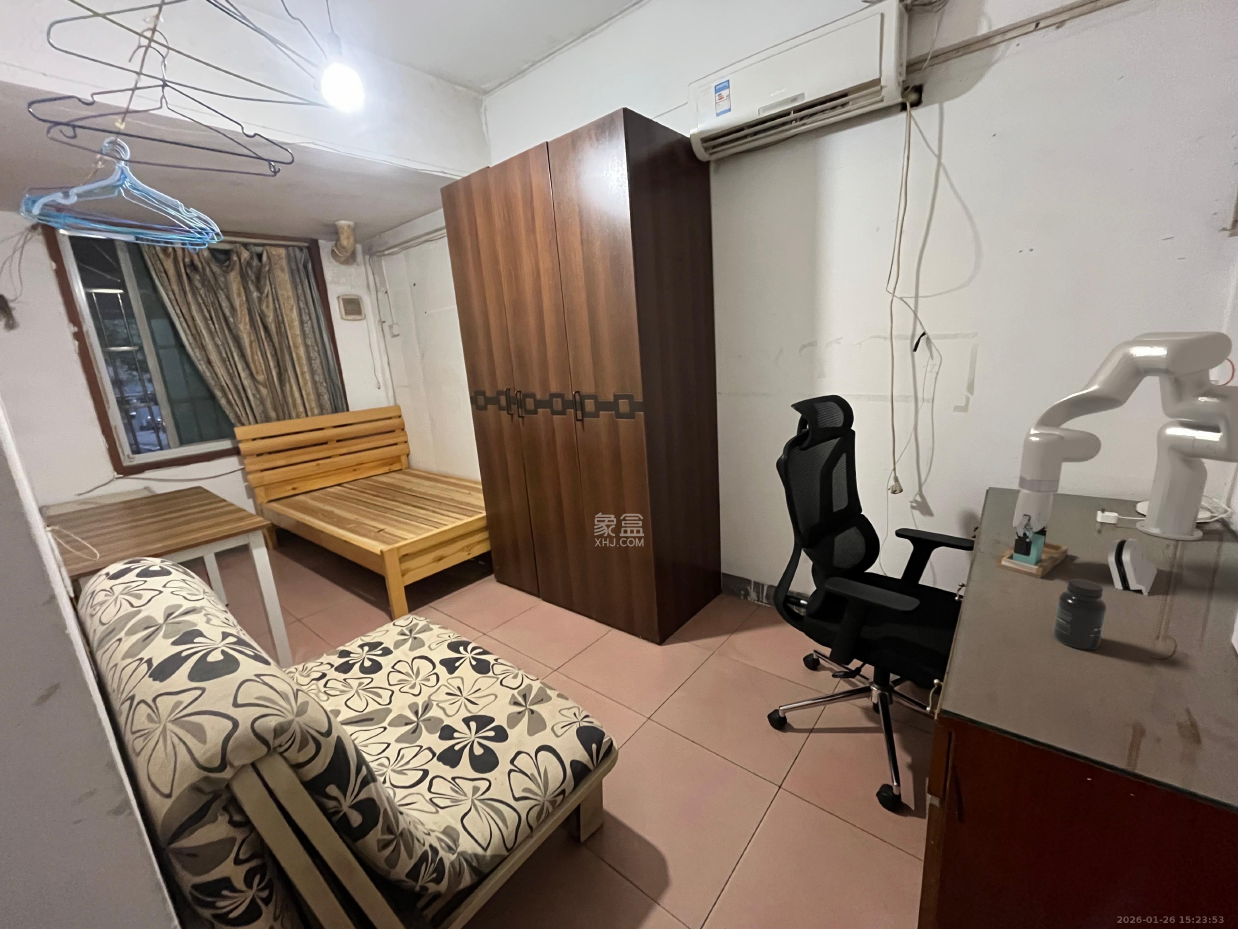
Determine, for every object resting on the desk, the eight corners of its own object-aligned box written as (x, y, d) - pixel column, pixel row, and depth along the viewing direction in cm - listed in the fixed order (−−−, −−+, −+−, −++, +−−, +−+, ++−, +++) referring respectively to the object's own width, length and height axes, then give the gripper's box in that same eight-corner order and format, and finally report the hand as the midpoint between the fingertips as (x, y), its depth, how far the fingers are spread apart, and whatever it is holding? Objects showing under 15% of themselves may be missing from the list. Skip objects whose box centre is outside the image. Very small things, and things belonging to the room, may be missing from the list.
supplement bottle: (1103, 655, 92) (1115, 596, 90) (1055, 645, 96) (1065, 588, 93) (1094, 635, 98) (1105, 580, 95) (1049, 627, 102) (1058, 573, 99)
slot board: (1024, 545, 138) (1025, 537, 137) (1066, 555, 130) (1068, 547, 130) (996, 566, 127) (997, 557, 127) (1040, 578, 120) (1041, 569, 119)
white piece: (1146, 596, 110) (1133, 552, 110) (1117, 595, 114) (1104, 553, 114) (1157, 571, 120) (1144, 531, 120) (1129, 571, 124) (1117, 532, 124)
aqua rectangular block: (1019, 556, 129) (1022, 531, 128) (1040, 562, 126) (1044, 536, 124) (1012, 561, 127) (1016, 536, 125) (1034, 567, 123) (1038, 541, 122)
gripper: (1032, 473, 129) (1024, 535, 133) (1005, 488, 120) (997, 554, 124) (1070, 478, 123) (1060, 543, 127) (1044, 495, 114) (1034, 564, 118)
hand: (1029, 548), depth 126 cm, fingers open, 9 cm apart
